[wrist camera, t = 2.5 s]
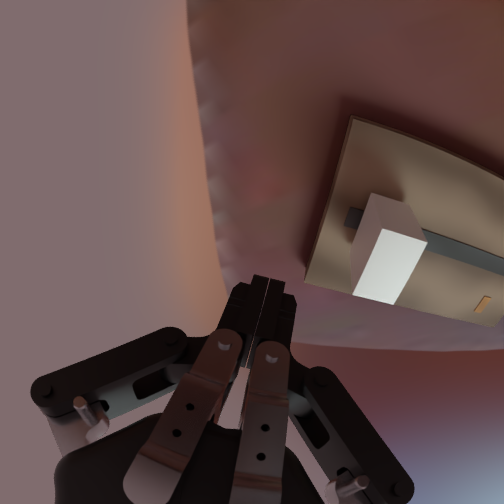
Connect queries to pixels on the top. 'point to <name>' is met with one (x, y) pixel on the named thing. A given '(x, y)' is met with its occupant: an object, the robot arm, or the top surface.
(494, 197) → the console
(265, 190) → the top surface
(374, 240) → the fader tab
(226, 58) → the top surface
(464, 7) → the top surface
